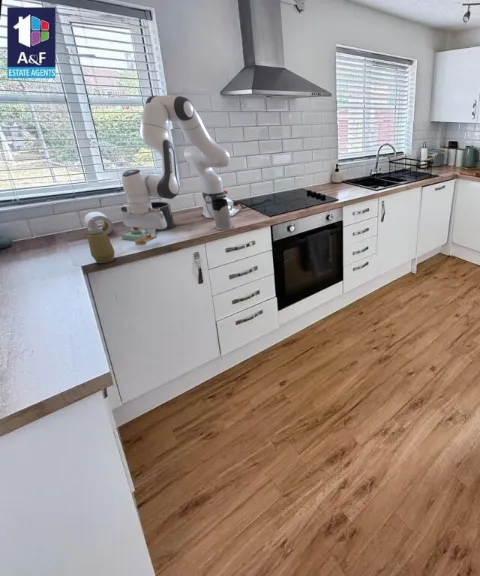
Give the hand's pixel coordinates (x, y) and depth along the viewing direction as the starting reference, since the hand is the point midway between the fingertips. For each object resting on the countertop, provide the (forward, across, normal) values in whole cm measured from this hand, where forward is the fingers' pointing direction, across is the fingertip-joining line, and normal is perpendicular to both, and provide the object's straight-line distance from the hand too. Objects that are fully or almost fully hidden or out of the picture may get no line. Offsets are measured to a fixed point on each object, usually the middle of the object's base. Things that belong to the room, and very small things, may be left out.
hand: (148, 236), depth 174 cm
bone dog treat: (+2, 0, +2) cm, 3 cm away
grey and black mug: (+4, -16, -32) cm, 36 cm away
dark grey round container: (+4, +14, -23) cm, 28 cm away
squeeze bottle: (+4, +3, +23) cm, 23 cm away
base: (+4, +13, -8) cm, 16 cm away
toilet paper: (+4, +34, -7) cm, 35 cm away
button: (0, +13, -8) cm, 15 cm away
